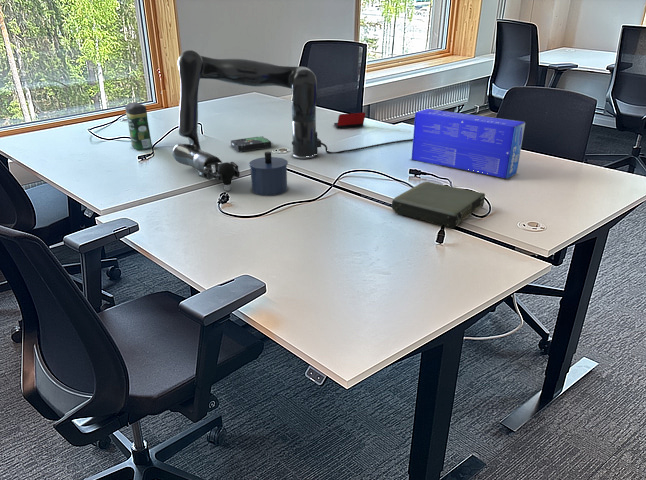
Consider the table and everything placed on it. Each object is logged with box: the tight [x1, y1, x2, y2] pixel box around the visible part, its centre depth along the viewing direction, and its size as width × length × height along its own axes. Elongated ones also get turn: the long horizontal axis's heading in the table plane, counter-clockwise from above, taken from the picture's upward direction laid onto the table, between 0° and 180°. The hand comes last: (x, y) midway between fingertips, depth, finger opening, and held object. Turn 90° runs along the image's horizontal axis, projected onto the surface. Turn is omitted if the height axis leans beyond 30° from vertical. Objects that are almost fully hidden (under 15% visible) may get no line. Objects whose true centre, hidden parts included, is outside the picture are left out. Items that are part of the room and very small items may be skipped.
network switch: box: [391, 181, 486, 230], centre depth 178 cm, size 23×24×5 cm
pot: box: [250, 164, 288, 197], centre depth 199 cm, size 12×12×9 cm
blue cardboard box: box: [411, 108, 526, 180], centre depth 211 cm, size 39×8×18 cm, turn 47°
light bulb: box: [218, 162, 235, 192], centre depth 198 cm, size 6×6×10 cm
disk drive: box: [230, 136, 272, 153], centre depth 246 cm, size 10×3×15 cm
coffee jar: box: [125, 101, 153, 151], centre depth 247 cm, size 10×8×19 cm
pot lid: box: [248, 151, 289, 170], centre depth 196 cm, size 13×13×5 cm
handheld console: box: [333, 112, 366, 130], centre depth 269 cm, size 12×11×7 cm
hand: (230, 176), depth 196 cm, fingers closed on light bulb, 6 cm apart
